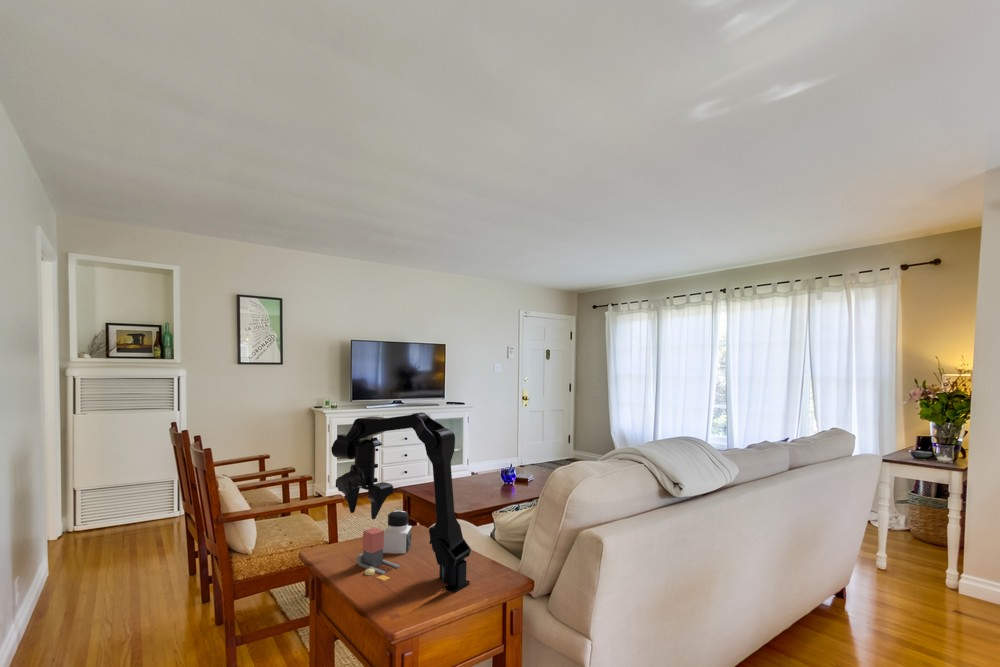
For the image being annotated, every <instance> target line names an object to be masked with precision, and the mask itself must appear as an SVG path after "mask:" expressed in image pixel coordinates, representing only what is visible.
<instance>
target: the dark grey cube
mask: <svg viewBox="0 0 1000 667" xmlns="http://www.w3.org/2000/svg"><path fill="white" fill-rule="evenodd" d="M362 552H363V553H362V554H363V563H364V564H366V565H369V566H372V567H374V568H375V567H376V566H378V565H379V566H382V565H383V564H384V563H383V560H384V559H383V556H384V553H383V549H381V550H379V551H377V552H374V553H371V552H368V551H365V550H363V549H362ZM376 568H377V567H376Z"/></svg>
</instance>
